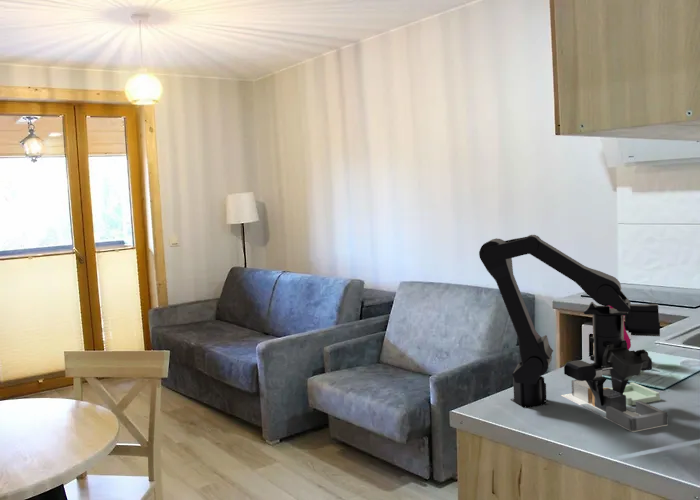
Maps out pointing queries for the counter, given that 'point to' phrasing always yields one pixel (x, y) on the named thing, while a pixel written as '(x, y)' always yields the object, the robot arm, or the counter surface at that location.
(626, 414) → the long white tray
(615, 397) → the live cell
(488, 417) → the counter surface
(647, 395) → the pale green square tray
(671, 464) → the counter surface
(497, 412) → the counter surface
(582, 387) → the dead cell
